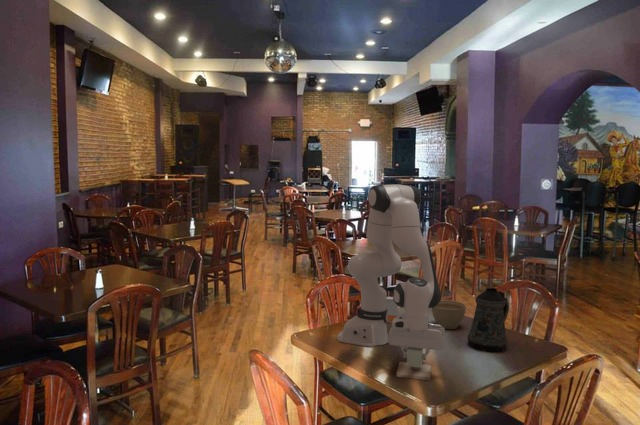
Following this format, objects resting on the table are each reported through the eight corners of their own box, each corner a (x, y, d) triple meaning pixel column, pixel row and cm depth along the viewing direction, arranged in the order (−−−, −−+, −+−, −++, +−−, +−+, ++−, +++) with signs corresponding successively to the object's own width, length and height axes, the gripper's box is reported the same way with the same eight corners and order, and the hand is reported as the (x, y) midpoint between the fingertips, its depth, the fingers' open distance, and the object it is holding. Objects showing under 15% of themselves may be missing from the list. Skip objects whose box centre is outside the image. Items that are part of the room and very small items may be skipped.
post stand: (396, 376, 193) (397, 357, 192) (399, 364, 204) (400, 346, 204) (429, 380, 190) (430, 361, 189) (431, 368, 201) (431, 349, 201)
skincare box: (384, 322, 258) (385, 298, 257) (385, 320, 262) (385, 296, 261) (397, 323, 257) (398, 299, 256) (397, 320, 261) (398, 297, 260)
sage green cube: (406, 365, 195) (407, 350, 194) (407, 360, 200) (408, 345, 199) (421, 367, 193) (422, 351, 193) (422, 362, 199) (422, 346, 198)
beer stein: (463, 348, 224) (466, 290, 222) (472, 335, 241) (475, 282, 239) (503, 355, 217) (507, 296, 214) (510, 342, 234) (514, 286, 231)
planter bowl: (424, 322, 259) (425, 301, 258) (453, 320, 264) (454, 299, 263) (441, 332, 244) (442, 310, 243) (471, 330, 249) (472, 307, 248)
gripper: (445, 322, 196) (443, 358, 197) (389, 317, 201) (388, 352, 202) (445, 327, 190) (443, 364, 191) (388, 322, 194) (386, 358, 196)
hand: (414, 358), depth 197 cm, fingers closed on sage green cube, 5 cm apart
